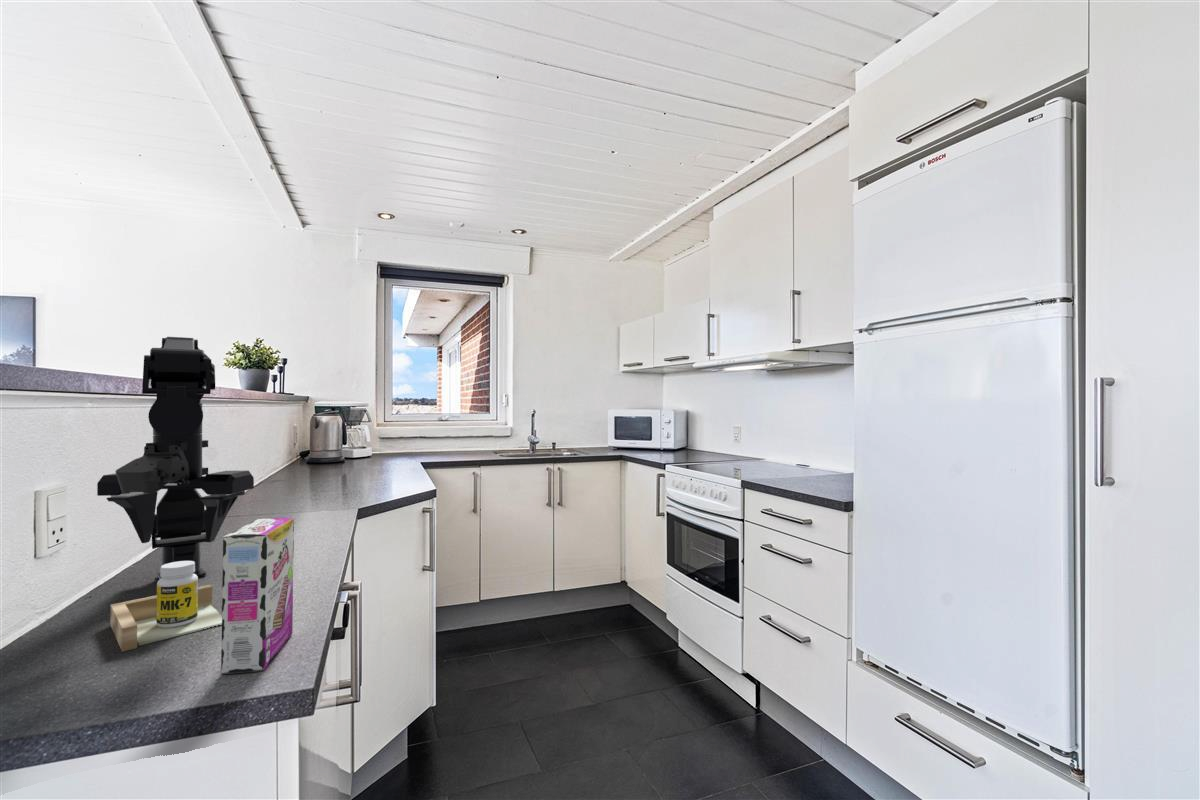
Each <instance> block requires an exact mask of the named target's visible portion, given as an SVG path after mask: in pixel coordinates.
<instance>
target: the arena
mask: <svg viewBox="0 0 1200 800" xmlns="http://www.w3.org/2000/svg"><path fill="white" fill-rule="evenodd" d="M109 609H110V616H109V617H110V619H109V620H110V628H111V630H112V632H113V634H114V637H115V639H116V640H117V644H118V645H119V648H120V650H121V653H122V652H127V651H131V650H135V649H138V647H139V646H144V645H148V644H152V643H155V642H159V641H163V640H168V639H171V638H174V637H179V636H183V635H187V634H191V633H194V632H195V633H196V632H199V631H203V629H204V630H207V628H208V629H210V627H212V628H215V627H214V626H216V627H219V626H218V625H220V626H222V613H220V612H219V611H218V610H217V609H216V608H215V607H213V585H212V584H206V585H201V586H198V616H197V619H196V620H195V621H193V622H191V623H189V624H186V625H182V626H178V627H172V628H161V627H158V626H157V623H156V618H157V594H155V595H152V596H151V595H150V596H147V597H142V598H137V599H132V600H126V601H122V602H116V603H111V604H110V608H109Z"/></svg>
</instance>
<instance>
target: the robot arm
mask: <svg viewBox="0 0 1200 800" xmlns="http://www.w3.org/2000/svg"><path fill="white" fill-rule="evenodd" d="M149 352H150V353H149V354H145V355H144V356H143V367H142V369H143V371H142V386H141V387H142V390H141V394H143V395H156V399H155V400H154V403H152V405H151V407H150V409H149V411H148V417H147V418H148V422H149V424H150V427H151V428H152V442H146V443H145V446H144V449H143V455H142V456H140V457H137V458H135V459H132V460H131V461H129V462H127V463H126V464H124V465H122V466H120V467H119V468H117V469H116V470H115V471H114V472H115V473H111V474H104V475H102V476H101V478H100V479H99V480H98V481H97V483H96V496H98V497H99V496H100V497H101V496H103V497H105V496H108V497H106V500H107V502H113V503H114V504H116V505H118V506H120V508H123V510H124V511H125V512H126V514H127V516H128V517H129V519H130V522H131V524H132V525H133V528H134V530H135V532H136V534H137V537H138V538H139V540H140V542H141V544H148V543H149V542H150V541H151V549H152V550H154V549H159V548H161V566H162V565H164V564H168V563H172V562H178V561H194V562H195V572H194V573H193V574H196V575H197V577H198V578H199V577H200V576H201V577H206V576H207V571H205V570H204V569H203V568H202V567H201V543H212V542H214V541H215V540H216V537H217V535H218V533H219V532H220V530H221V527H222V525H223V524H224V522H225V520H226V517H227V515H228V513H229V512H230V510H231V509H232V507H233V505H234V504H235V502H236V501H237V499H238V498H239V496H243V495H245V494H246V491H248V490H253V489H255V486H254V485H255V483H254V482H255V480H254V479H255V478H254V476H253V474H252V473H251V472H250V470H223V471H217V472H211V473H209V467H203V448H209V439H207V440H205V439H204V440H203V421H204V411H203V402H201V400H202V399H203V398H204V396H205V395H211V390H212V391H213V390H216V366H215V364H214V363H212V359H211V357H209V356H208V355H207V354H206V353H205V351H204V349H200V348H199V339H195V338H194V337H182V336H181V337H178V336H166V337H162V338H161V346H160V347H151V348H150V351H149ZM149 386H150V387H149ZM160 490H166V491H165V492H164V494H163V496H162V497H161V498H160V500H159V501H158V503H157V500H158V493H159V491H160ZM198 490H202V491H203V492H204V493H205V494H206V495H205V496H203V495H201V494H200V492H199V491H198ZM202 533H204V534H202ZM156 577H158V578H159V579H158V578H157V579H158V581H159V580H160V579H161V578H162V577H161V576H160V572H159V573H156Z"/></svg>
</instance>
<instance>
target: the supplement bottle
mask: <svg viewBox="0 0 1200 800" xmlns="http://www.w3.org/2000/svg"><path fill="white" fill-rule="evenodd" d="M194 572H195V562H194V561H178V562H172V563H168V564H164V565H162V564H161V566H160V572H159V573H160V576H161V577H162V578H161V579H160V580H159V579H158V581H157V583H156V595H157V618H156V623H157V626H158V627H161V628H172V627H178V626H182V625H186V624H189V623H191V622H193V621H195V620H196V619H197V616H198V587H199V577H197V575H196V574H193V573H194Z"/></svg>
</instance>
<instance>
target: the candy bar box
mask: <svg viewBox="0 0 1200 800" xmlns="http://www.w3.org/2000/svg"><path fill="white" fill-rule="evenodd" d="M294 529H295V518H294V517H274V518H273V517H271V518H259V519H258V518H257V519H256V520H253V521H252V522H251V521H250V523H248V524H245V525H243V526H241V527H240V528H238V529H236V530H234V531H232V532H229V533H228V534H226V535H224V536H222V583H221V584H222V587H221V590H222V591H221V600H222V601H221V603H222V604H221V616H222V625H221V644H220V645H221V646H220V647H221V652H220V653H221V655H220V656H221V657H220V660H221V661H220V663H221V664H220V665H221V667H220V674H221V675H231V674H240V673H243V674H245V673H255V672H262V671H264V670H265V669H266V668H268V667H267V666H268V665H270V663H271V662H272V660H273V659H274V658H275V656H276V655H277V653H279V651H280V650H281V649H282V647H284V645H285V644H286V643H287V641H288V640H289V639H290V637H291V636H292V635H293V626H294V625H293V623H294V622H293V614H294V613H293V612H294V611H293V610H294V609H293V608H294V607H293V605H294V603H293V602H294V601H293V600H294V595H293V594H294V589H293V588H294V549H295V548H294V546H295V545H294V543H295V542H294V541H295V539H294V536H295V535H294V533H295V531H294Z"/></svg>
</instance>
